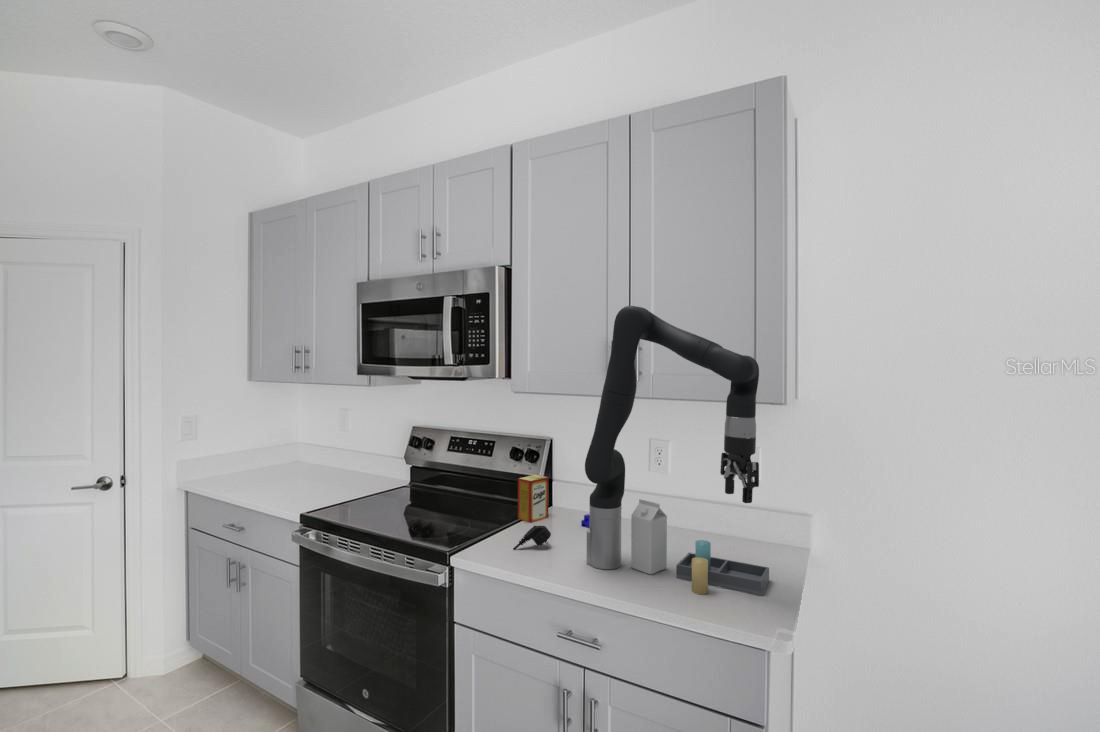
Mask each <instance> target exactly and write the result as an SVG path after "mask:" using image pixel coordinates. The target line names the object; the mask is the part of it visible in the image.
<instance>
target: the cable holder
mask: <svg viewBox="0 0 1100 732" xmlns="http://www.w3.org/2000/svg"><path fill="white" fill-rule="evenodd" d="M580 524H581V525H580V526H581V527H583V528H585V529H586V528H587V529H590V514H584V515H583V519H582V520H581V523H580Z"/></svg>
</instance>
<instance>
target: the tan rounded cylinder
mask: <svg viewBox="0 0 1100 732" xmlns="http://www.w3.org/2000/svg"><path fill="white" fill-rule="evenodd" d="M691 592H692V593H693V594H696V595H707V594H708V593H709V585H708V560H707V559H705V558H701V557H695V558H692V581H691Z"/></svg>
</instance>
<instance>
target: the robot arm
mask: <svg viewBox="0 0 1100 732" xmlns="http://www.w3.org/2000/svg"><path fill="white" fill-rule="evenodd" d="M613 324H614V325H613V331H612V341H611V350H610V356H609V361H608V364H607V370H606V375H605V380H604V383H603V389H602V393H601V396H600V397H601V398H600V404H599V408H598V413H597V418H596V423H595V428H594V431H593V435H592V438H591V442H590V445H589V448H588V451H587V454H586V457H585V462H584V473H585V475H586V478H587V479H588V481H590V482H592V483H593V484H596V485H595V488H594V489H593V490H592V492H591V493H590V496H589V515H590V528H589V529H588V530H586V565H589V566H590V567H593V568H595V569H599V570H615V569H618V568H620V567H621V566H622V500H623V497H624V495H625V483H626V464H625V463H626V462H625V459H624V456H623V455H622V453H621V452H620V451H619V450H617V449H615V446H616V443H617V439H618V437H619V435H620V434H621V431H622V430H623V428H624V426H625V425H626V423H627V421H628V420H629V417H630V415H631V413H632V411H633V407H634V403H635V398H636V393H637V387H638V385H637V384H638V383H637V382H638V381H637V373H636V355H637V352H638V347H639V344H640V340H643V341H647V342H650V343H654V344H658V345H660V346H662V347H665V348H666V349H668V350H670V351H672V352H674V353H675V354H676V355H678V356H680V357H681V358H683V359H685V360H686V361H689V362H691V363H693V364H695V365H697V366H700V367H702V368H705V369H707V370H710V371H712V372H713V373H715V374H716V375H718V376H721V377H722V378H724V379H726V380H728V381H730V390H729V394H728V395H727V397H726V406H725V407H726V409H725V410H726V411H725V422H724V433H723V434H724V439H723V451H724V452H721V456H720V458H721V460H720V471H719V473H720V476H723V479H724V492H725V493H724V494H727V495H733V494H735V478H736V477H738V479H739V480H740V481H741V484H742V499H741V500H742V503H744V504H751V503H752V502H753V491H754V490H753V489H754V488H759V486H760V463H759V462H758V461H752V458H751V456H752V455H755V454H756V443H757V441H756V440H757V423H756V422H757V420H756V413H757V412H756V410H757V409H756V408H757V407H756V406H757V405H756V404H757V400H756V399H757V398H756V397H757V392H758V385H759V378H760V368H759V364H758V362H757V360H756V359H755V358H754V357H752V356H750V355H745V354H744V355H743V354H739V353H737V352H734V351H733V350H729V349H726V348H724V347H723V346H722V345H720V344H719V343H716V342H714V341H711V340H709V339H707V338H705V337H702V336H701V335H700V336H699V335H697V334H695V333H692V332H689V331H688V330H684V329H681V328H678V327H676V326H675V325H673V324H670V323H669V322H667V321H665V320H663V319H662V318H660V317H658V316H657V315H655V314H654V313H652V312H651V311H649V310H648V309H647V308H645V307H641V306H635V305H626V306H624V307H622V308H621V309H620V310H619V311H618V312H617V314H616V315H615V318H614V323H613Z"/></svg>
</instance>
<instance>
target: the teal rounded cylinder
mask: <svg viewBox="0 0 1100 732" xmlns="http://www.w3.org/2000/svg"><path fill="white" fill-rule="evenodd" d="M694 544H695V549H694V550H695V553H694V554H695V557H701V558H705V559H707V560H708V570H709V571H710V563H711V557H712V556H711V555H712V554H711V553H712V552H711V550H712V549H711V547H712V545H711V542H710V541H708V540H704V539H698V540H695V543H694Z"/></svg>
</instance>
